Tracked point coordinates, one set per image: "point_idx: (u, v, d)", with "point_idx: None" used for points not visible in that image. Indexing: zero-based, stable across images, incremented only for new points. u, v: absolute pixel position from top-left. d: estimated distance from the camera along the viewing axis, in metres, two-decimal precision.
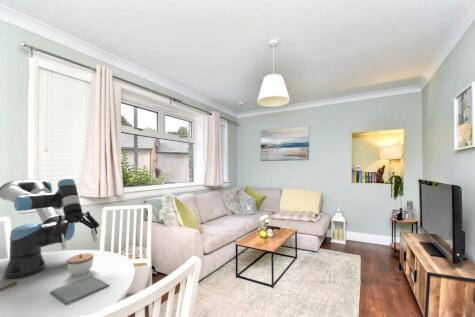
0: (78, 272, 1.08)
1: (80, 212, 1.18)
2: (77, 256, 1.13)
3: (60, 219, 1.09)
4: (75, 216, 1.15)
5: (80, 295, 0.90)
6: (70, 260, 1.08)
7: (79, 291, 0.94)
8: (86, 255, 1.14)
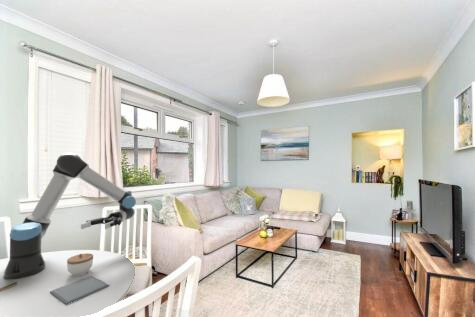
0: (78, 272, 1.08)
1: None
2: (77, 256, 1.13)
3: None
4: None
5: (80, 295, 0.90)
6: (70, 260, 1.08)
7: (79, 291, 0.94)
8: (86, 255, 1.14)
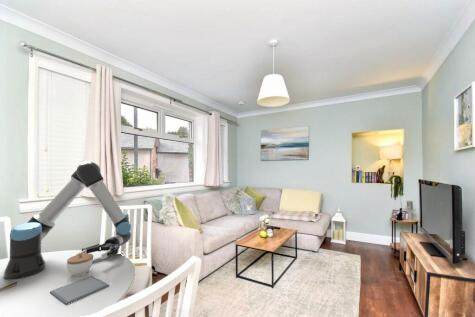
0: (78, 272, 1.08)
1: None
2: (77, 256, 1.13)
3: None
4: None
5: (80, 295, 0.90)
6: (70, 260, 1.08)
7: (79, 291, 0.94)
8: (86, 255, 1.14)
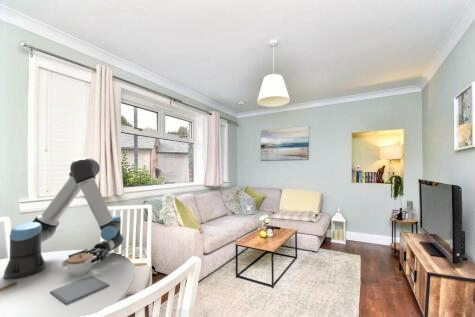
0: (78, 272, 1.08)
1: None
2: (77, 256, 1.13)
3: None
4: None
5: (80, 295, 0.90)
6: (70, 260, 1.08)
7: (79, 291, 0.94)
8: (86, 255, 1.14)
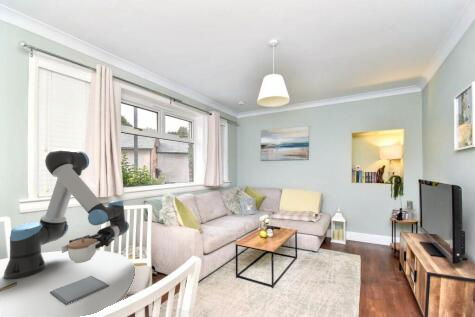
0: (80, 258, 0.94)
1: None
2: (79, 241, 0.99)
3: None
4: None
5: (80, 295, 0.90)
6: (71, 245, 0.95)
7: (79, 291, 0.94)
8: (89, 240, 1.00)
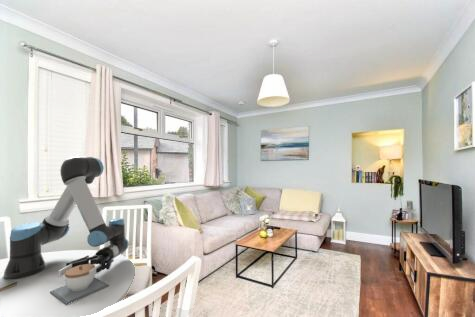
0: (78, 287, 0.93)
1: None
2: (77, 268, 0.98)
3: None
4: None
5: (80, 295, 0.90)
6: (68, 273, 0.93)
7: (79, 291, 0.94)
8: (87, 266, 0.99)
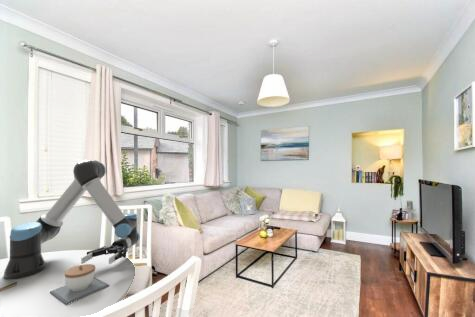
0: (78, 287, 0.93)
1: None
2: (77, 268, 0.98)
3: None
4: None
5: (80, 295, 0.90)
6: (68, 273, 0.93)
7: (79, 291, 0.94)
8: (87, 266, 0.99)
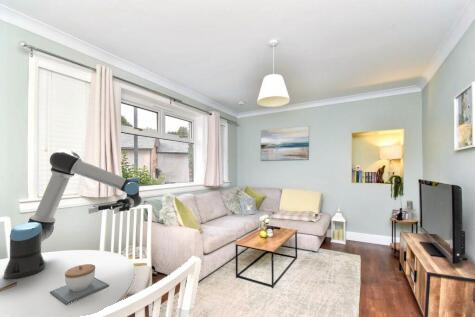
0: (78, 287, 0.93)
1: None
2: (77, 268, 0.98)
3: None
4: None
5: (80, 295, 0.90)
6: (68, 273, 0.93)
7: (79, 291, 0.94)
8: (87, 266, 0.99)
